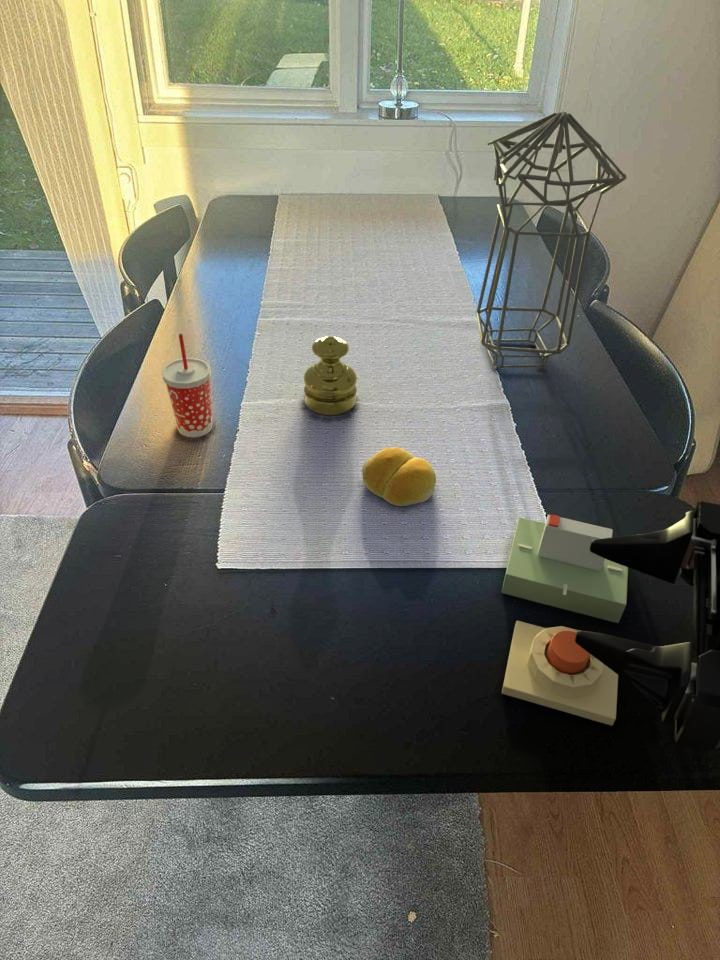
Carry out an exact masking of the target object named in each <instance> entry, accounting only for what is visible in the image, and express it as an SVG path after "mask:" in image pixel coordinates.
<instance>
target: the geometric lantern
mask: <svg viewBox="0 0 720 960" xmlns="http://www.w3.org/2000/svg"><path fill="white" fill-rule="evenodd" d="M569 126H570V127H571V128H572V130H573V131H574V132H575V133H576V135H577V136H578V137H579V138H580V139H581V140H582V142H577V143H571V142H570V141H571V140H570V130H569ZM557 128H558V130H557ZM556 130H557V133H556V137H555V140H554V143H547V142H548V140H549V139H550V137H551V136H552V135H553V133H554V132H555V131H556ZM529 132H530V133H529ZM527 133H529V134H527ZM524 134H527V135H526V136H525V137H523V138H522V139H521V140H519V141H514V140H512V139H515V138H517V137H519V136H522V135H524ZM491 145H492V147H493V153H494V159H495V166H494V175H493V181H495V185H496V186H497V188H498V194H499V199H500V204H499V203H497V204H496V207H497V210H498V213H497V216H496V217H497V218H496V222H495V227H494V232H493V235H492V240H491V244H490V249H489V253H488V259H487V263H486V268H485V271H484V277H483V281H482V286H481V290H480V295H479V298H478V303H477V307H476V312H475V315H476V319H477V320H476V321H477V327H478V332H479V339H480V344H481V345H482V347H484V348H485V349H486V351H487V354H488V356H489V359H490V361H491V364H492V366H493V367H496V368H500V369H501V368H504V369H505V368H544V367H545V365H546V364H547V362H548V359H549V357H551V356H554V355H560V354H562V353H563V352H564V351H565V350H566V349H568V348H569V346H570V343H571V338H572V332H573V326H574V322H575V317H576V311H577V306H578V300H579V297H580V291H581V290H580V289H581V285H582V279H583V274H584V268H585V263H586V259H587V253H588V247H589V242H590V238H591V231H592V228H593V224H594V221H595V218H596V215H597V213H598V210H599V209H598V208H599V205H600V203H601V199H602V196H603V195H604V194H606V193H607V192H609V191H610V190H612V189H613V188H615V187H616V186H617V185H619V184H621V183H622V182H624V181H626V179H627V174H626V173H624V172H623V171H622V170H621V169H620V168H619V166H618V165H617V164H616V163H615V162H614V160H613V159H612V158H611V157H610V156H609V155H608V154H607V153H606V152H605V151H604V149H603V147H602V145H601V144H600V143H599V141H597V140H596V139H595V138H594V137H593V136H592V135H591V134H590V133H589V132H588V131H587V130H586V129H585V128H584V127H583V126H582V125H581V123H579V121H578V120H577V119H576V118H575V117H574V116H573V115H572V114H571V113H570V112H569V113H568V112H567V111H560V112H553V113H551V114H548V115H546V116H544V117H542V118H539V119H538V120H535V121H533V122H531V123H529V124H527V125H524V126H522V127H520V128H517V129H516V130H513V131H511V132H509V133H507V134H505V135H501V136H499V137H498V138H495V139H493V140H491V141H489V142H487V146H491ZM501 145H502V146H503V147H504V148H505V149H507V150H506V151H504V150H503V148H502V146H501ZM542 148H544V149H552V152H551V156H550V159H549V163H548V166H545V165H543V166H542V165H537V164H536V161H537V158H538V153H539V152H540V151H541V150H542ZM577 148H578V150H576V151H575V152H573V153H572V152H571V151H572V150H571V149H577ZM523 149H525V150H524V151H523V153H521V151H522V150H523ZM587 149H589V151H590V152H591V154H592V155H593V156H594V158H595V159H596V178H594V179H592V178H591V179H581V180H574V170H573V162H572V160H574V159H575V158H576V157H578V156H579V155H580V154H582V153H583V152H585V151H586V150H587ZM563 150H565V153H566V159H564V160H563V161H562V162H560V163H559V164H557V165H556V166H555V164H556V162H557V159H558V156H559V154H561V153H562V152H563ZM531 153H532V154H531ZM530 154H531V155H530ZM529 155H530V156H529ZM515 156H516V157H517V159H516V160H515V161H514V162H513V163H512V164H511V165H510V166H509V168H507V166H506V165H507V163H508V162H509V161H510V160H511V159H513V157H515ZM528 156H529V157H528ZM523 162H524V164H523V165H522V167H521V168H520V169H519V171H518V172H517V173H516V175H515V176H513V175H510V174H512V172H513V171H514V170H515V169H516V168H517V167H518V166H519V165H520V164H521V163H523ZM610 164H611V165H612V166H613V167H611V165H610ZM565 165H566V166H567V176H568V181H563V179H562V177H561V175H560V173H559V170H560V169H561V168H563V167H564V166H565ZM527 166H529V167H528V169H527V170H526V172H525V173H522V172H523V171H524V170H525V168H526V167H527ZM533 169H534V170H536V171H537V170H538V171H543V172H546V174H545V175H538V174H537V175H536V174H530V173H531V172H532V170H533ZM602 169H603V170H602ZM503 172H504V173H503ZM552 173H555V174H556V176H557V178H558V180H553V179H551V176H552ZM605 175H606V177H605ZM604 177H605V178H604ZM508 178H509V179H511V180H514V181H516V180H517V179H518V181H520V182H519V183H518V185H517V187H516V188H515V190H514V191H513V193H512V195H511V196H510V198H509V199H507V187H506V186H507V185H506V182H507V180H508ZM528 180H529V181H530V180H531V181H541V182H544V183H543V194H542V193H541V192H540V191H539V190H538V189H537V188H536V187H534V186H533V184H532V183H530V182H529V181H528ZM586 185H587V186H588V185H591V186H590V187H589V188H588V190H585V191H584V192H581V193H579V194H576V195H575V196H572V197H570V191H571V187H573V186H575V187H576V186H586ZM523 186H525V187H526V188H527V190H529V191H530V192H532V194H533V195H534V196H536V197H537V198H538V199H539V200H540V201H541V202H527V201H525V202H524V201H514V199H515V198H516V197H517V195H518V193H519V191H520V190H521V188H522V187H523ZM548 186H555V187H556V186H558V187H561V188H562V190H563V192H564V194H565V199H558V200H557V199H556V200H548V199H547V198H548V197H547V196H548V195H547V194H548ZM596 192H599V196H598V198H597V202H596V205H595V208H594V211H593V214H592V216H591V217H592V218H591V220H590V223H589V226H588V225H587V223H586V221H585V220H584V218H583V216H582V215H581V213H580V211H579V208H580V207H581V206H582V205H583V204H584V202H585V201H586V200H587V199H588V197H589V196H591V195H592V194H594V193H596ZM578 200H579V202H577V204H576V205H575V206H574V205H573V203H574V202H576V201H578ZM514 206H538V209H537V210H536V211H535V212H534V213H533V214H532V215H531V216H530V217H529V218H528V219H527V220H526V221H524V223H523V224H522V225H521V226H520V227H519V228H518V229H515V228H513V226H509V225H510V220H511V217H512V216H511V215H512V212H513V207H514ZM539 206H540V207H539ZM545 207H565V210H564V214H563V218H562V222H561V226H560V231H559V232H538V231H521V230H523V228H524V227H525V226H527V225H528V223H529V222H531V221H532V220H533V219H534V218H535V216H537V215H538V213H540V211H542V210H543V209H544V208H545ZM506 208H508V209H507V210H506ZM569 217H570V220H571V223H572V224H571V228H570V233H565V229H566V226H567V225H566V224H567V221H568V218H569ZM578 219H579V221H580V222H581V224H582V226H583V228H584V229H585V231H584V232H580V230H579V227H578V224H577V222H578ZM501 223H502V225H503V232H502V236H501V240H500V244H499V249H498V252H497V257H496V262H495V266H494V271H493V274H492V279H491V283H490V287H489V292H488V297H487V301H486V305H485V307H483V308H482V305H483V300H484V296H485V291H486V287H487V283H488V279H489V278H488V277H489V274H490V269H491V266H492V261H493V256H494V251H495V247H496V243H497V237H498V233H499V229H500V225H501ZM510 233H512V234H513V235H514V237H513V241H512V248H511V253H510V259H509V267H508V272H507V279H506V284H505V291H504V296H503V297H504V298H503V303H502V306H494V304H495V298H496V294H497V291H498V285H499V281H500V278H501V272H502V268H503V264H504V260H505V256H506V255H505V254H506V250H507V246H508V241H509V237H510ZM520 235H521V236H523V235H524V236H545V237H558V239H557V242H556V243H557V244H556V247H555V251H554V256H553V260H552V264H551V268H550V272H549V276H548V280H547V285H546V289H545V291H544V297H543V300H542V304H541V307H539V308H538V307H511V306H509V307H507V306H508V301H509V294H510V290H511V289H510V288H511V284H512V276H513V271H514V266H515V259H516V252H517V248H518V247H517V246H518V243H519V242H518V241H519V236H520ZM563 237H567V238H569V240H568V245H567V252H566V257H565V262H564V266H563V267H564V268H563V272H562V278H561V279H562V280H561V285H560V289H559V295H558V302H557V306H556V311H555V312H553V311H551V310H549V309H547V308H546V306H547V302H548V298H549V294H550V291H551V286H552V282H553V278H554V274H555V270H556V266H557V261H558V257H559V253H560V250H561V247H562V242H563ZM583 237H585V238H584V243H583V247H582V248H583V249H582V254H581V259H580V264H579V269H578V275H577V280H576V285H575V292H574V297H573V302H572V308H571V313H570V318H569V324H568V328H567V329H568V330H567V333H566V331H565V326H566V320H567V315H568V309H569V303H570V297H571V292H572V287H573V280H574V274H575V269H576V263H577V257H578V252H579V247H580V239H581V238H583ZM574 238H575V241H574ZM573 242H574V247H573ZM572 248H573V252H572ZM571 255H572V258H571ZM570 258H571V264H570ZM569 265H570V269H569ZM568 270H570V271H569V275H568ZM567 276H568V280H567ZM566 281H568V282H566ZM566 283H567V287H566ZM565 287H566V292H565V299H564V304H563V303H562V302H563V298H564V291H565ZM562 304H563V310H562V316H561V317H560V313H561V308H562ZM492 311H501V315H500V321H499V322H500V323H499V328H497V329H493V327H492V323H491V316H492ZM507 311H510V312H536V313H537V315H536V318H535V320H534V322H533V324H532V327H531V328H530V327H529V328H527V327H526V328H504V325H505V319H506V313H507ZM542 312H543V313H545V314H547V315H548V316H551V318H550V319H549V320H548V321H547V322H545V323H543V325H542V326H541V327H540V328H538V329H537V330H536V329H535V328H536V326H537V323H538V321H539V318H540V316H541V315H542ZM482 313H485V316H486V318H485V322H484V319H482V317H481V314H482ZM554 320H556V322H557V325H558V328H559V333H558V340H557V346H556V347H555V348H554V349H548V348H547V346H546V344H545V343H544V340H543V338H542V335H540V332H541V331H542V330H543V329H545V328H546V327H547V326H548V325H549V324H551V323H552V322H553V321H554ZM495 332H496V333H498V335H497V339H493V333H495ZM503 332H528V336H527V338H525V339H524V338H523V339H522V338H521V339H520V338H519V339H518V338H517V339H516V338H515V339H513V338H511V339H502V336H503ZM532 332H533V333H534V339H533V340H532V339H531V336H532ZM537 339H538V340H539V342H540V343H541V346H542V347H543V349H541V348H540V347H539V345H538V342H537ZM563 341H564V343H563V344H562V342H563ZM513 342H514V343H516V342H517V343H518V342H519V343H520V342H522V343H523V342H524V343H525V342H528V343H531V344H534V346H535V348H527V347H512V346H511V347H509V346H501V344H502V343H513ZM495 343H496V345H495ZM503 351H504V352H521V353H533V354H503V353H502V352H503ZM535 353H536V354H535ZM492 354H493V355H494V357H493V355H492ZM498 358H501V360H500V364H498ZM505 358H541V364H504V360H505Z"/></svg>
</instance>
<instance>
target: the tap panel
mask: <svg viewBox="0 0 720 960" xmlns="http://www.w3.org/2000/svg"><path fill="white" fill-rule="evenodd" d="M545 523H546V522H541V521H536V520H532V519H528V518H524V517H520V516H519V517H518V518H517V523H516V526H515V531H514V535H513V539H512V542H511V543H512V544H511V548H510V552H509V556H508V562H507V566H506V570H505V575H504V579H503V583H502V588H501V594H504V595H508V596H512V597H515V598H519V599H524V600H528V601H532V602H535V603H538V604H541V605H542V604H543V605H546V606H550V607H554V608H558V609H562V610H566V611H569V612H572V613H577V614H580V615H585V616H589V617H591V618H597V619H600V620H603V621H608V622H611V623H615V624H619V623H620V620H621V618H622V616H623V614H624V611H625V608H626V607H627V602H628V601H627V599H628V577H629V568H628V567H626V566H623V565H620V564H617V563H615V562H612V561H609V560H607V559H605V561H604V563H603V566H602V569H601V571H597V570H593V569H588V568H584V567H580V566H576V565H572V564H568V563H564V562H560V561H556V560H552V559H548V558H544V557H540V556H538V550H539V545H540V541H541V538H542V534H543V531H544V527H545Z"/></svg>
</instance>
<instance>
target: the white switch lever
mask: <svg viewBox="0 0 720 960" xmlns="http://www.w3.org/2000/svg"><path fill="white" fill-rule="evenodd" d="M544 523H545V527H544V531H543V534H542V538H541V541H540V545H539V550H538V556H540V557H544V558H548V559H552V560H556V561H560V562H564V563H568V564H572V565H576V566H580V567H584V568H588V569H593V570H597V571H601V569H602V566H603V563H604V561H605V558H602V557H600V556H598V555H596V554H594V553H592V552H590V545H591V541H592V540H594V539H603V538H611V537H613V533H614V532H613V529H612V528H608V527H604V526H600V525H595V524H591V523H586V522H582V521H578V520H574V519H570V518H566V517H561V516H560V515H556V514H552V513H550V514H547V517H546V520H545V522H544Z"/></svg>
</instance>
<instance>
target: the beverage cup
mask: <svg viewBox="0 0 720 960" xmlns="http://www.w3.org/2000/svg"><path fill="white" fill-rule="evenodd" d="M178 339H179V346H180V352H181V358H176V359H173V360H171V361H169V362H167V363H166V364H165V365H164V366H163V367H162V369H161V376H162V380H163V382H164V383H165V384H166V388H167V393H168V396H169V401H170V404H171V409H172V411H173V417H174V418H175V424H176V428H177V431H178V432H179V434H180V435H182V436H184V437H187V438H199V437H203V436H205V435H207V434H209V433H210V431H212V429H213V425H214V424H213V411H212V397H211V396H212V395H211V377H212V376H211V375H212V367H211V365H210V363H209V362H208V361H206V360H204V359H202V358H198V357H187V354H186V346H185V341H184V334H183V333H178Z"/></svg>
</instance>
